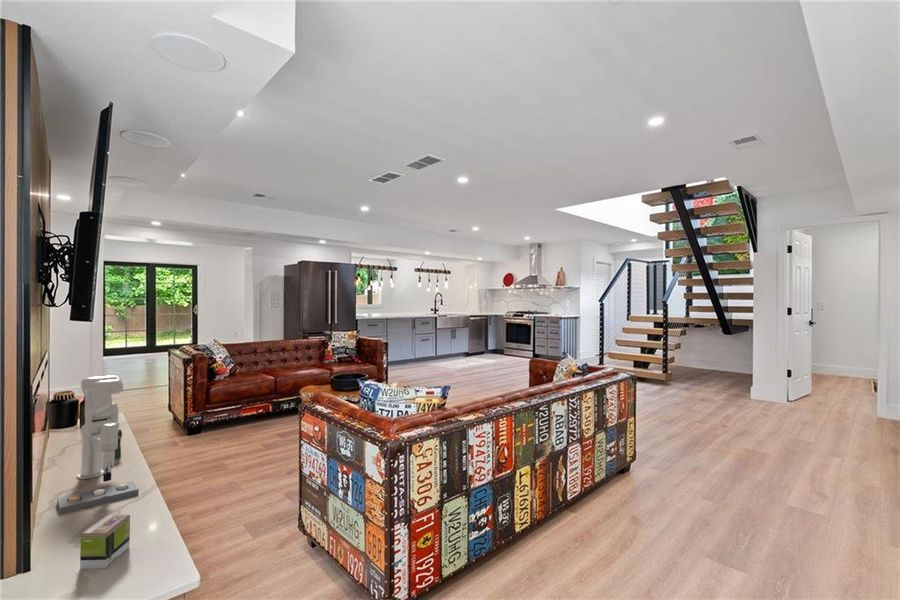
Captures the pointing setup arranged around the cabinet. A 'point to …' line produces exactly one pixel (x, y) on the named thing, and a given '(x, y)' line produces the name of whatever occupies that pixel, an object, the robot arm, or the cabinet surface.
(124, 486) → the sage button
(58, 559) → the cabinet surface
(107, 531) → the tea box
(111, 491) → the button panel
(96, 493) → the cream button
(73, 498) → the terracotta button
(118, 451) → the green snack bag
